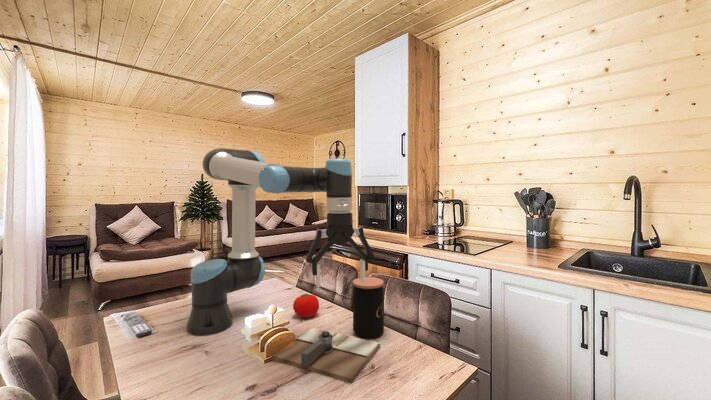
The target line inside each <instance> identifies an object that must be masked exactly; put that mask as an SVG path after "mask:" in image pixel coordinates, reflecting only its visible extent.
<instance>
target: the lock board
mask: <svg viewBox="0 0 711 400" xmlns="http://www.w3.org/2000/svg"><path fill="white" fill-rule="evenodd" d="M324 331H325V330H323V329H319V328H314V327H310V328H309V329H308V330H306V331H305V332H304V333H302V334H301V335H300V336H298V337H296V338H295V339H296V340H295V339H294V340H295V344H294V345H293V346H291V347H289V348H287V349H284V350H282V351H279V350H278V351H279V352H278V351H277V352H275V353H273V354H272V355H271V360H272V361H274V362H275V361H276V362H278V363H281V364H285V365H289V366H291V367H296V368H299V369H303V370H306V371H309V372H312V373H315V374H319V375H321V376H326V377H329V378H333V379H335V380H339V381H342V382H346V383H349V384H352V383H353V382H354V381H355V380H356V378H358V376H359V375H360V373H362V371H363V370H364V368H365V367H366V366H367V365H368V363H369V362H370V361H371V360H372V359H373V357H374V356H375V355H376V353H378V351H379V350H380V349H381V344H380V343H379V342H377V341H373V340H369V339H364V338H360V337H355V336H351V335H345V334H341V333H336V332H333V331H328V332H329V334H332V349H331V350H328V351H324V352H323V353H322V354H321V355H320V356H319V357H317V358H316V359H315V360H314V361H313V362H312V363H311V364H310V365H308V366H305V365H301V353H302V352H303V351H304V350H306V349H307V348H308V347H309V346H311V345H312V344H313V343H314V342H316V341H317V340H318V339H319V335H320V334H322V332H324Z"/></svg>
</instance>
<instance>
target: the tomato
mask: <svg viewBox="0 0 711 400" xmlns="http://www.w3.org/2000/svg"><path fill="white" fill-rule="evenodd" d="M319 308H320V302H319V299H318V297H317V296H316V295H314V294H308V293H303V294H301V295H300V296H298V297H296V298H295V300H294V301H293V304H292V309H293V311H294V314H296V315H297V316H299V317H303V318H310V317H313V316H315V315H316V314H317V313H318V311H319Z"/></svg>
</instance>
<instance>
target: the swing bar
mask: <svg viewBox="0 0 711 400" xmlns="http://www.w3.org/2000/svg"><path fill="white" fill-rule="evenodd" d="M329 332H330V331H328V330H324V332H322V334H320V335H319V339H318V340H317V341H316V342H314V343H313V344H312V345H311V346H309V347H308V348H307V349H306V350H304V351H303V352H302V353H301V365H305V366H308V365H310V364H311V363H312V362H313V361H314V360H315V359H316V358H317V357H319V356H320V355H321V354H322V353H323V352H324V351H328V350H331V349H332V334H329Z"/></svg>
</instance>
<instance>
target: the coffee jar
mask: <svg viewBox="0 0 711 400" xmlns="http://www.w3.org/2000/svg"><path fill="white" fill-rule="evenodd" d="M384 283H385V282H384V280H383V279H382V278H378V277H374V276H373V277H372V276H365V283H363V282H361V281H360V277H358V278H355V279H354V280H352V285H353V288H352V314H353V315H352V327H353V328H352V330H353V333H354V334H355V336H356V337H357V338H360V339H364V340H375V339H378V338H380V337H381V336H382V334H383V333H384V331H385V290H384V287H383V286H384V285H385V284H384Z"/></svg>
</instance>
